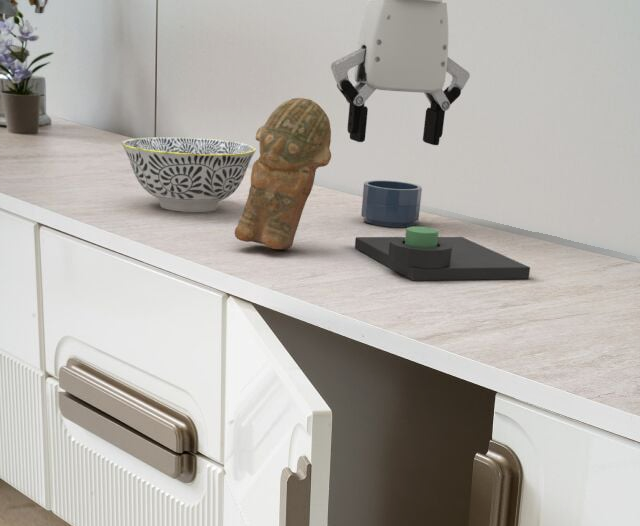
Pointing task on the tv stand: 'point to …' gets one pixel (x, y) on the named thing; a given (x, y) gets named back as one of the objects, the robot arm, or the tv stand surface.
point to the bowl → (188, 170)
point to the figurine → (284, 172)
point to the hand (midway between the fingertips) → (394, 142)
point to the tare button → (421, 237)
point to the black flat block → (442, 259)
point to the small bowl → (391, 203)
